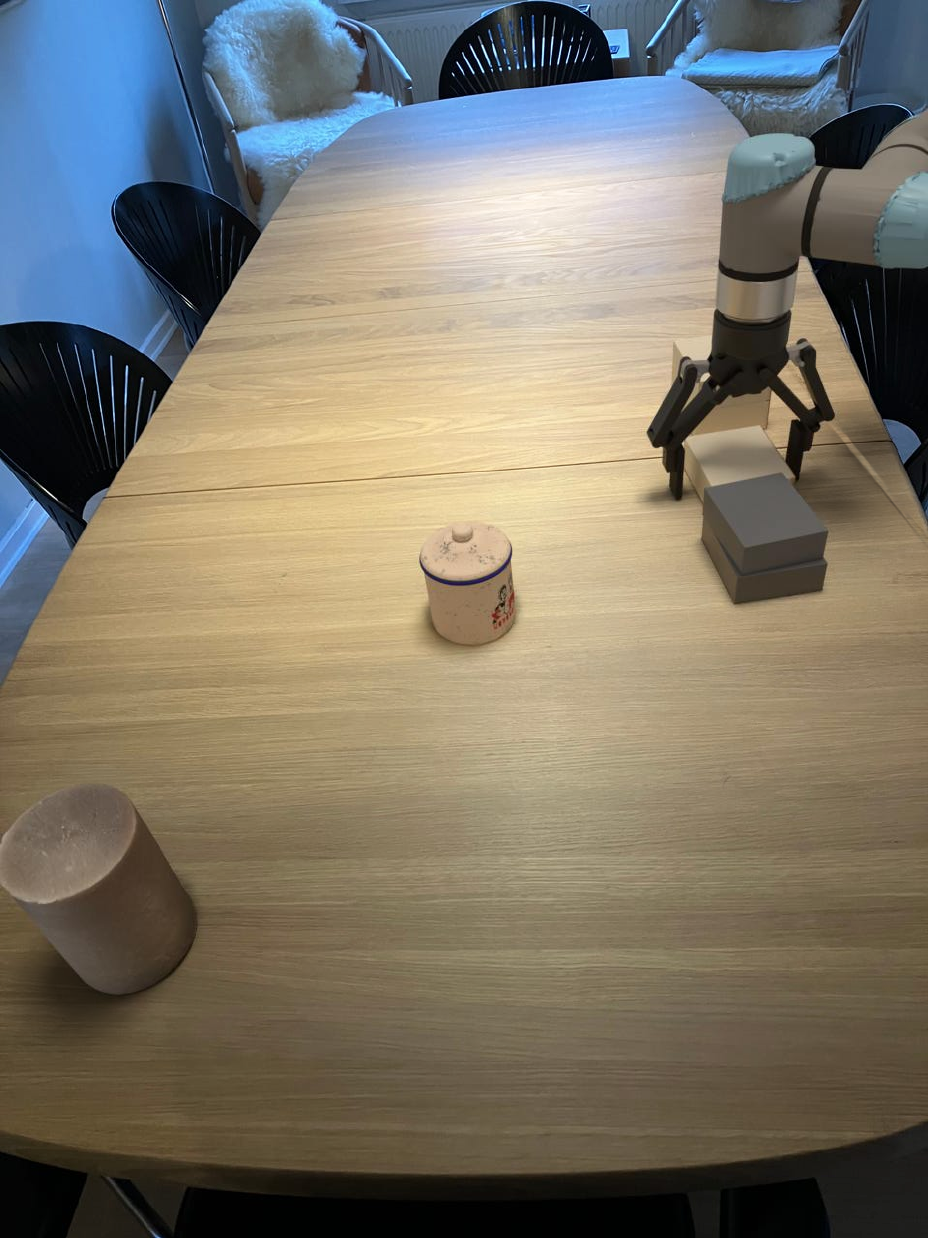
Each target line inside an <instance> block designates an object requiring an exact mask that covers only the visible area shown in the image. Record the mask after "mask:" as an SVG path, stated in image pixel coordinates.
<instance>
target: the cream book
mask: <svg viewBox="0 0 928 1238" xmlns="http://www.w3.org/2000/svg"><path fill="white" fill-rule="evenodd" d="M683 447H684V449H685V461H684V471H685V472H686V474H687V476H688V478H689V480H690V482H691V484H692V486H693V488H694V489H695V491H696V493H697V495H698V497H699V499H700V501H701V503H702V504H703V500H704V488H707V487H711V486H716V485H721V484H726V483H731V482H736V481H741V480H746V479H751V478H756V477H761V476H766V475H771V474H776V473H781V472H782V473H783V474H784V476H785V477H786V478H787V479H788V481H789V482H790V483H791V484H792V486H793V487H794V488H795V484H796V481H795V478H796V477H795V475H794V474H793V472H792V471H791V469H790V468H789V466H788V465H787V463H786V462H785V459H784V457H783V456H782V454H781V453H780V451H779V450H778V449H777V448H776V447H777V446H775V444H774V442H773V441H772V440H771V438H770V437H769V435H768V434H767V433H766V431H765V429H763V428H762V427H761V425H759V426H752V427H746V428H740V429H733V430H727V431H720V432H714V433H708V434H701V435H695V436H693V435H689V436H688V437H687V438H686V439H685V441H684V442H683Z"/></svg>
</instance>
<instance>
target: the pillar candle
mask: <svg viewBox="0 0 928 1238" xmlns="http://www.w3.org/2000/svg"><path fill="white" fill-rule="evenodd" d="M0 886H1V887H2V888H3V889H4V890H5V891H6V892H7V893H8V894H9V896H10V897H11V898H12V899H13V900H14V901H15V902H16V903H17V905H18V906H19V907H20V908H21V909H22V910H23V911H24V912H25V914H26V915H27V916H28V917H29V919H30V920H32V922H33V923H34V925H35V926H36V927H37V928H38V929H39V930H40V932H41V933H42V934H43V935H44V936H45V938H46V939H47V941H49V942H50V944H51V945H52V946H53V947H54V948H55V950H56V951H57V952H58V953H59V954H60V955H61V957H62V958H63V960H64V961H65V962H67V963H68V966H70V968H71V969H73V971H74V972H75V973H76V974H77V975H78V976H79V977H80V978H81V979H82V980H83V982H84V983H85V984H86V985H88V986H89V987H91V988H93V989H94V990H96V991H98V992H100V993H103V994H109V995H114V996H115V995H116V996H119V995H121V996H122V995H127V994H133V993H137V992H140V991H143V990H145V989H147V988H149V987H151V986H154V985H155V984H156V983H158V982H159V981H161V980H162V979H164V978H165V977H166V976H168V975H169V974H170V973H171V972H172V971H173V970H174V969H175V968H177V966H178V964H179V963H180V962H181V960H182V959H183V958H184V957H185V955H186V954H187V952H188V951H189V950H190V947H191V946H192V943H193V941H194V939H195V936H196V931H197V927H198V917H197V909H196V908H197V907H196V906H195V903H194V901H193V899H192V897H191V896H190V894H189V893H188V892H187V890H186V889H185V888H184V887H183V885H182V883H181V881H180V879H179V877H178V876H177V874H176V873H175V872H174V870H173V868H172V866H171V865H170V862H169V861H168V859H167V858H166V856H165V854H164V852H163V850H162V849H161V847H160V845H159V843H158V842H157V840H156V839H155V837H154V835H153V834H152V832H151V831H150V829H149V827H148V825H147V824H146V822H145V821H144V819H143V816H141V814H140V812H139V811H138V809H137V807H136V806H135V804H134V803H133V801H132V800H131V798H129V796H128V795H127V794H126V793H124V792H123V791H121V790H120V789H119V788H117V787H115V786H112V785H108V784H105V783H101V782H83V783H77V784H72V785H69V786H66V787H63V788H60V789H58V790H56V791H54V792H51V793H49V794H47V795H46V796H44V797H42V798H41V799H40V800H38V801H37V802H35V803H33V804H32V805H31V806H29V808H28V809H26V810H25V811H24V812H23V813H22V814H20V816H19V817H18V818H16V820H15V822H14V823H12V825H11V827H10V828H9V829H8V830H7V831H5V833H3V836H2V838H1V843H0Z"/></svg>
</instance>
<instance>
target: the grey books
mask: <svg viewBox="0 0 928 1238" xmlns="http://www.w3.org/2000/svg"><path fill="white" fill-rule="evenodd" d="M701 513H702V514H701V515H702V527H701V538H700V539H701V540H702V542H703V544H704V546H705V548H706V550H707V552H708V555H709V556H710V558H711V560H712V562H713V564H714V567H715V568H716V570H717V572H718V575H719V576H720V578H721V580H722V582H723V585H724V587H725V589H726V591H727V592H728V595H729V596H730V598H731V600H732V603H733V604H734V605H738V604H742V603H743V604H744V603H750V602H755V601H762V600H768V599H774V598H780V597H787V596H793V595H799V594H806V593H812V592H819V591H823V589H824V585H825V579H826V575H827V569H828V565H829V563H828V562H827V560H826V558H825V556H824V555H825V551H826V546H827V540H828V537H829V536H828V534H829V529H828V528H827V527H826V525H825V524H824V523H823V521H822V520H821V519H820V518H819V517H818V515H817V514H816V513H815V511H814V510H813V509H812V508H811V507H810V506H809V504H808V503H807V502H806V500H805V499H804V498H803V497H802V495H800V492H798V491H797V489H796V488H795V486H794V487H793V486H792V484H791V483H790V482H789V481H788V479H787V478H786V477H785V476H784V474H783V473H782V472H781V473H776V474H771V475H766V476H761V477H756V478H751V479H746V480H741V481H736V482H731V483H726V484H721V485H716V486H711V487H707V488H704V500H703V503H702V512H701Z"/></svg>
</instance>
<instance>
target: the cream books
mask: <svg viewBox="0 0 928 1238" xmlns="http://www.w3.org/2000/svg"><path fill="white" fill-rule="evenodd" d="M711 347H712V334H709V335H702V336H696V337H690V338H689V337H688V338H683V339H676V340H673V341H672V359H671V360H672V361H671V379H670V380H671V382H670V388H671V387H672V385H673V383H674V381H675V379H676V378H677V375H678V369H679V364H680V360H681V359H682V358H683V357H685V356H688V357H690V358H691V360H692V361H694V360H707V358H708V357H709V355H710V353H711ZM709 376H710V374H709V373H705V374H703V375H702V377H701V379H700V382H699V383H695V387H694V390H693V392H692V394H691V396H690V397H689V399H688V401H687V403H686V404H685V406H684V408H685V407H686V406H687V405H688V404H689V403H690V402H691V401H692V399H693V398H694V397H695V396H696V395H697V394H698V393H699V391H700V390H701V389H702V385H703V383H704V382H705V381H706V380H707V379H708V377H709ZM719 388H720V387H719V386H718V385H717V387H716V390H718V389H719ZM772 393H773V391H772V390H771V389H770V387H769V386H768V387H767V388H766V389H765V390H763V391H761V394H745V395H743V396H740V397H734V398H732V396H730V395H729V396H728V397H727V398H726V399H725V400H724V401H723V402H722V404H720V405H716V406H715V407H714V408H713V410H712V411H711V412H710V413H709V414H708V415H707V416H706V417H705V418H704V420H703V421H702V422H701V423H700V424H699V425H698V426H697V427H696V428H695V429H694V431H693V432H692V433H691V436H695V435H701V434H708V433H714V432H720V431H727V430H733V429H740V428H746V427H752V426H759V425H761V427H762V428H763V430H766V429H768V424H769V415H770V407H771V400H772V399H771V398H772ZM684 408H683V410H684ZM683 410H682V411H683ZM682 411H681V412H682Z"/></svg>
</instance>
